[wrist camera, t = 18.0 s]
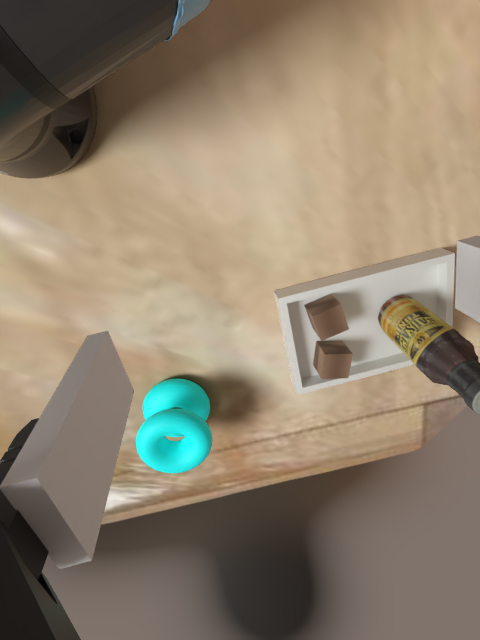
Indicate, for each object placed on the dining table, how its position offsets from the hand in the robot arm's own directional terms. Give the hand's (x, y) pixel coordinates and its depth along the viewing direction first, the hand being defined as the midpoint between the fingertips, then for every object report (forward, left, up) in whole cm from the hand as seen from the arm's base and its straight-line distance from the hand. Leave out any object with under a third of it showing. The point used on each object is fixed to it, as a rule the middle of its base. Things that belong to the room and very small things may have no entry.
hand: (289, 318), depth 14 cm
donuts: (-14, -27, -35) cm, 46 cm away
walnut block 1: (+10, -18, -34) cm, 39 cm away
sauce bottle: (+21, -21, -34) cm, 45 cm away
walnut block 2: (+10, -24, -34) cm, 43 cm away
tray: (+16, -21, -35) cm, 44 cm away
